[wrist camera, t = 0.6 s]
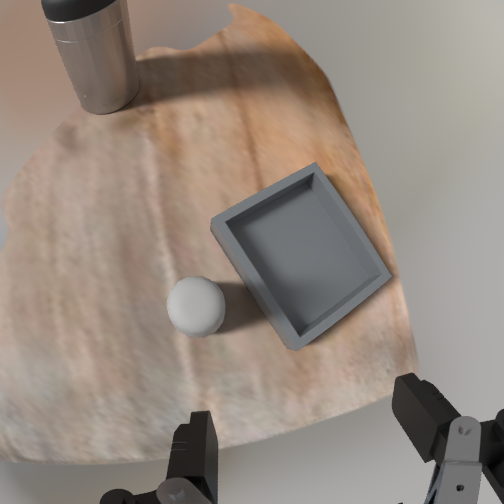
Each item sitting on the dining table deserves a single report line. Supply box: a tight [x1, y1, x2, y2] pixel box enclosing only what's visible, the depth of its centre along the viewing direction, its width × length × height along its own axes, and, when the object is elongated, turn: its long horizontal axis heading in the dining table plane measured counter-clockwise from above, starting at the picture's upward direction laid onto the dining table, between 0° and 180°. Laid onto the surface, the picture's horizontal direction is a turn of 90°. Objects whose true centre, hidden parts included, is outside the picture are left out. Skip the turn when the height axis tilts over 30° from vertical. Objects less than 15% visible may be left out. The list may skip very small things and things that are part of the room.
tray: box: [210, 162, 392, 351], centre depth 36 cm, size 16×14×4 cm
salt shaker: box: [167, 276, 226, 338], centre depth 28 cm, size 6×6×13 cm
